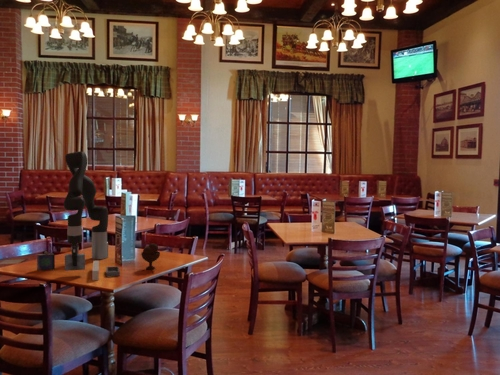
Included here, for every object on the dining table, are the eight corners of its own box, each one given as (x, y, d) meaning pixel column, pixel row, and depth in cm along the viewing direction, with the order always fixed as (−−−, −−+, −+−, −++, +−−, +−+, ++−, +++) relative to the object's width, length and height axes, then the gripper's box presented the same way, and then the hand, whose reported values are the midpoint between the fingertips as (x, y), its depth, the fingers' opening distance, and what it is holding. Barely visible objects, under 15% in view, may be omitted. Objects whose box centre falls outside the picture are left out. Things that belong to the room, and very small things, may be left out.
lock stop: (64, 270, 241) (64, 256, 241) (65, 268, 245) (65, 254, 244) (84, 269, 244) (84, 255, 244) (85, 267, 248) (84, 253, 247)
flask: (36, 270, 253) (36, 252, 253) (37, 269, 256) (37, 251, 255) (54, 269, 256) (54, 251, 256) (55, 268, 259) (55, 250, 258)
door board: (93, 269, 259) (93, 260, 259) (98, 269, 260) (98, 260, 259) (92, 280, 236) (92, 270, 236) (98, 280, 237) (98, 270, 237)
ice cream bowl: (151, 265, 271) (151, 241, 270) (163, 268, 264) (164, 243, 263) (137, 268, 263) (137, 243, 262) (149, 272, 256) (149, 245, 255)
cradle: (106, 271, 256) (106, 266, 256) (118, 270, 258) (118, 266, 258) (106, 276, 244) (106, 272, 243) (119, 276, 246) (119, 271, 246)
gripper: (68, 231, 249) (68, 262, 250) (66, 236, 235) (66, 268, 236) (82, 231, 251) (82, 261, 252) (81, 235, 238) (81, 267, 239)
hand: (75, 264), depth 244 cm, fingers closed on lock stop, 4 cm apart
